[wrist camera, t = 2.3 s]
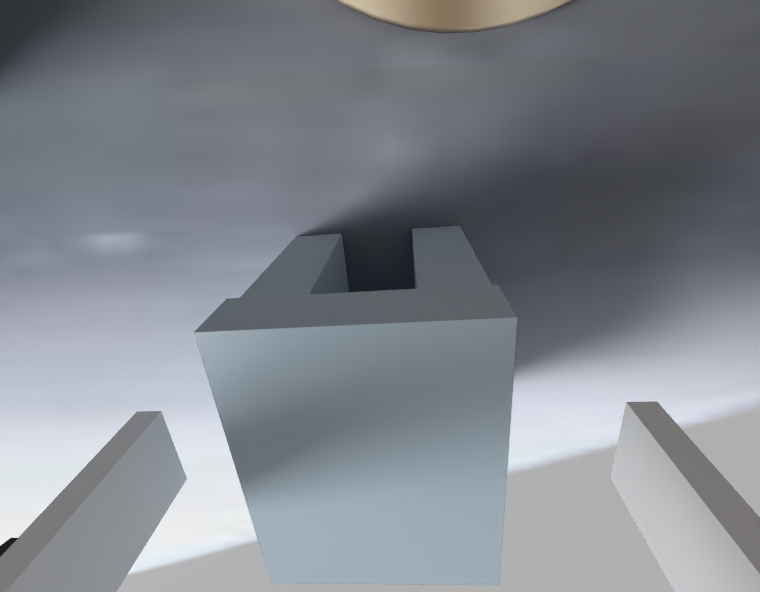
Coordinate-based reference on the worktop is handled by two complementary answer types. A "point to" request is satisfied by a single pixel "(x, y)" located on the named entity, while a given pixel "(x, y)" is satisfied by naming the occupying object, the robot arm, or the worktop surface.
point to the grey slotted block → (369, 414)
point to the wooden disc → (453, 13)
